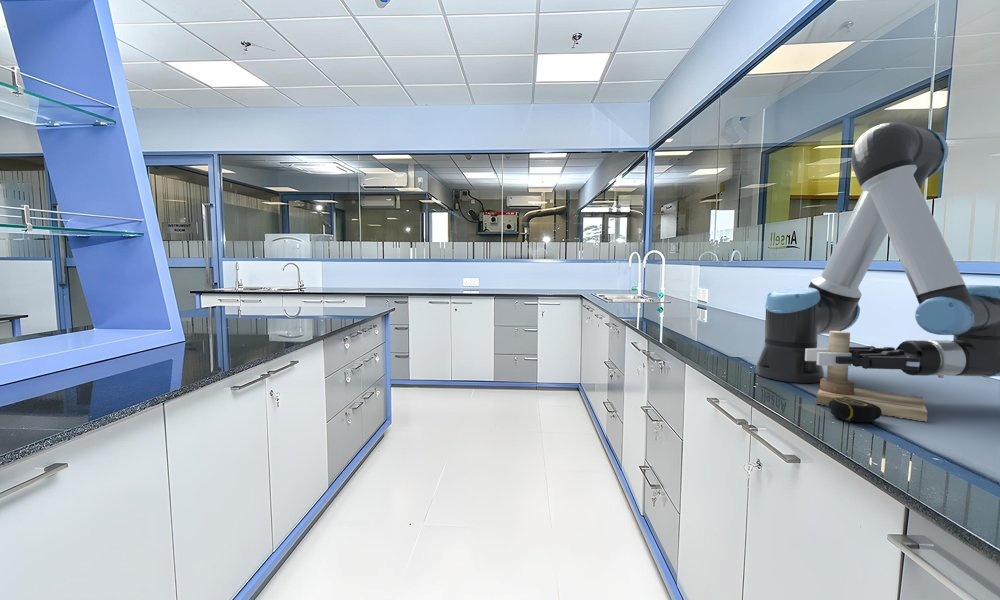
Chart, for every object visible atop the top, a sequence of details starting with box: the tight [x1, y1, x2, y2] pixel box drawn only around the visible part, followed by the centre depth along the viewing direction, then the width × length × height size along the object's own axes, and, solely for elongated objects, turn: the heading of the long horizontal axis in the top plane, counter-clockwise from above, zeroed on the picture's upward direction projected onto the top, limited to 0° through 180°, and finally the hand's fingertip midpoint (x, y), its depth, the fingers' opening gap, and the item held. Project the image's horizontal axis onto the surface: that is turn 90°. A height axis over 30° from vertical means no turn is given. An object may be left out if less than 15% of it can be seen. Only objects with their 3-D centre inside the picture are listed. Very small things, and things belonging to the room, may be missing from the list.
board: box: [815, 387, 928, 423], centre depth 93 cm, size 12×17×2 cm
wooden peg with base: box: [819, 330, 855, 394], centre depth 96 cm, size 7×6×13 cm
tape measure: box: [828, 397, 882, 423], centre depth 85 cm, size 7×7×4 cm
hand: (812, 356), depth 97 cm, fingers closed on wooden peg with base, 4 cm apart
